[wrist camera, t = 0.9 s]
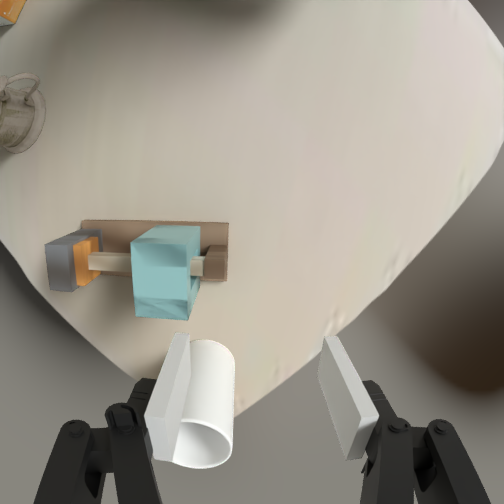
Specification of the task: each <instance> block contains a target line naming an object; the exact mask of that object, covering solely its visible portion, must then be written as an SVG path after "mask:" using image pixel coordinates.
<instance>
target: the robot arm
mask: <svg viewBox="0 0 504 504" xmlns="http://www.w3.org/2000/svg"><path fill="white" fill-rule="evenodd" d="M317 377H318V380H319V383H320V386H321V389H322V392H323V395H324V398H325V401H326V403H327V407H328V410H329V412H330V415H331V418H332V421H333V424H334V427H335V430H336V433H337V436H338V439H339V442H340V445H341V448H342V451H343V454H344V457H345V460H353V459H359V458H362V456H363V454H364V452H365V450H366V453H367V455H368V459H367V461H366V463H365V465H364V467H363V469H362V472H361V473H364V480H363V486H362V493H361V500H360V504H414V490H415V494H416V497H417V501H418V504H491V503H490V500H489V498H488V496H487V494H486V492H485V489H484V487H483V485H482V483H481V481H480V479H479V476H478V474H477V472H476V470H475V468H474V466H473V464H472V462H471V460H470V458H469V456H468V454H467V452H466V450H465V448H464V446H463V444H462V442H461V440H460V438H459V437H458V435H457V432H456V431H455V429H454V427H453V426H452V424H451V423H449V422H448V421H446V420H442V419H436V420H433V421H431V422H430V423H429V425H428V427H427V428H425V427H411V426H410V424H409V423H408V422H407V421H406V420H404V419H402V418H398V417H397V416H396V414H395V412H394V411H393V409H392V407H391V406H390V404H389V402H388V400H387V399H386V397H385V395H384V394H383V392H382V390H381V388H380V387H379V385H377V384H376V383H375V382H373V381H372V380H369V381H361V379H360V377H359V376H358V374H357V372H356V370H355V368H354V366H353V365H352V363H351V361H350V359H349V357H348V355H347V353H346V351H345V349H344V348H343V346H342V344H341V342H340V340H339V338H338V337H337V336H324V341H323V347H322V353H321V358H320V364H319V369H318V375H317ZM190 378H191V359H190V339H189V333H176V332H175V334H174V337H173V340H172V342H171V345H170V347H169V350H168V353H167V355H166V358H165V360H164V363H163V366H162V368H161V371H160V374H159V376H158V379H157V380H155V379H147V378H142V379H141V380H140V381H138V382H137V383H136V384H135V386H134V389H133V391H132V393H131V395H130V398H129V400H128V402H127V403H117V404H113V405H111V406H109V408H108V409H107V410H106V412H105V417H106V420H107V424H108V427H107V428H90V426H89V424H87V423H86V422H85V421H81V420H71V421H68V422H66V423H65V424H64V425H63V426H62V428H61V430H60V432H59V434H58V437H57V439H56V442H55V444H54V447H53V450H52V452H51V455H50V457H49V460H48V463H47V466H46V468H45V471H44V474H43V477H42V480H41V482H40V485H39V488H38V491H37V494H36V498H35V501H34V504H101V498H102V493H103V487H104V482H105V477H106V473H114V477H115V484H116V490H117V496H118V502H119V504H162V501H161V497H160V493H159V490H158V486H157V482H156V479H155V475H154V471H153V467H152V464H151V457H152V453H153V455H154V459H157V460H164V461H173V456H174V451H175V446H176V442H177V437H178V432H179V428H180V423H181V418H182V414H183V409H184V405H185V400H186V396H187V391H188V387H189V383H190ZM364 471H365V472H364Z"/></svg>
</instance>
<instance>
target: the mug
mask: <svg viewBox="0 0 504 504" xmlns="http://www.w3.org/2000/svg"><path fill="white" fill-rule="evenodd" d="M24 78H29V79H33V80H35V81H36V83H35V85H34V86H33V87H32V88H29V87H27V88H23V89H20V90H15V89H11V88H8V87H5V86H6V85H8V84H10V83H12V82H14V81H16V80H19V79H24ZM39 84H40V80H39V78H38V77H37V76H36V75H34V74H32V73H21V74H17V75H14V76H12V77H10V78H8V79H7V77H6V76H1V77H0V147H4V148H5V149H6V150H7V151H9V152H12V153H20V152H23V151H25V150H27V149H28V148H30V147H31V146H32V145H33V143H34V142H35V141H36V140H37V138H38V136H39V134H40V133H41V131H42V128H43V125H44V121H45V114H46V107H45V100H44V98H43V96H42V94H41V93H40V92H39V91H38V90H36V89H37V88H38V86H39Z"/></svg>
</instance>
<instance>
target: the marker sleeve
mask: <svg viewBox="0 0 504 504" xmlns="http://www.w3.org/2000/svg"><path fill="white" fill-rule="evenodd" d="M130 243H131V264H132V279H133V292H134V304H135V314H136V316H137V317H149V318H161V319H175V320H188V319H189V316H190V313H191V310H192V307H193V304H194V302H195V299H196V296H197V293H198V290H199V288H200V276H192V275H190V261H191V259H192V257H193V256H200V226H176V225H156V226H155V227H153V228H152V229H150V230H148V231H147V232H145V233H144V234H142V235H141V236H139V237H138V238H136V239H135V240H133V241H132V242H130Z"/></svg>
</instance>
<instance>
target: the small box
mask: <svg viewBox="0 0 504 504" xmlns="http://www.w3.org/2000/svg"><path fill="white" fill-rule="evenodd" d="M25 2H26V0H0V26H4V25H10V24H15V22H16V20H17V18H18V16H19V14H20V12H21V10H22V8H23V6H24V4H25Z"/></svg>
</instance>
